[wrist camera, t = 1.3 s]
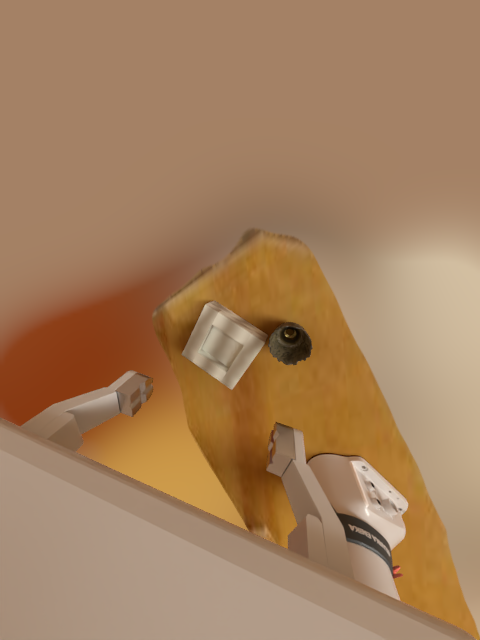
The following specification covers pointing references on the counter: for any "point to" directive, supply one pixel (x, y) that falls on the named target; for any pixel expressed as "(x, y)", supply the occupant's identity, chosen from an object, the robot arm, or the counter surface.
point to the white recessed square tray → (223, 344)
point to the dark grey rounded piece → (290, 344)
